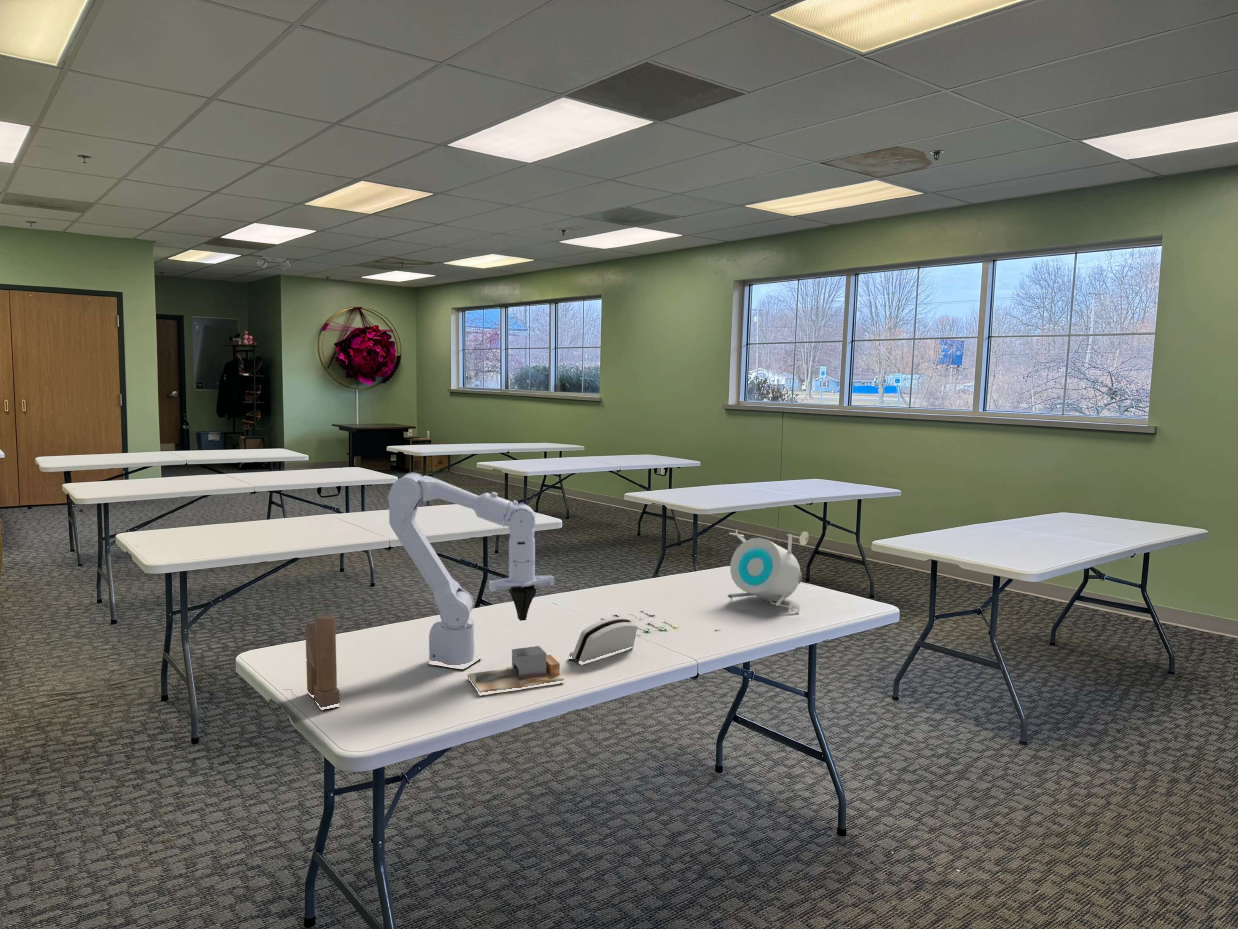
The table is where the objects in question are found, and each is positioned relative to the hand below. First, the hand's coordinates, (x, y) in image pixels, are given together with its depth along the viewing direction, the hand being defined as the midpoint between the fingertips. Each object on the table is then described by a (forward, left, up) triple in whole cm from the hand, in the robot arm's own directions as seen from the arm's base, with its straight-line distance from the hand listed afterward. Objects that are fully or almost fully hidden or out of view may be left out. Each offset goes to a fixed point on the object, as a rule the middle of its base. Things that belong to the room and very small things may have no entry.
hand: (521, 619), depth 179 cm
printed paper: (+15, +37, -11) cm, 41 cm away
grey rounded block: (+16, +11, -10) cm, 22 cm away
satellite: (+41, +71, -10) cm, 83 cm away
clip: (+6, -9, -9) cm, 14 cm away
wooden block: (-26, -34, -10) cm, 44 cm away
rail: (+4, -11, -10) cm, 15 cm away
